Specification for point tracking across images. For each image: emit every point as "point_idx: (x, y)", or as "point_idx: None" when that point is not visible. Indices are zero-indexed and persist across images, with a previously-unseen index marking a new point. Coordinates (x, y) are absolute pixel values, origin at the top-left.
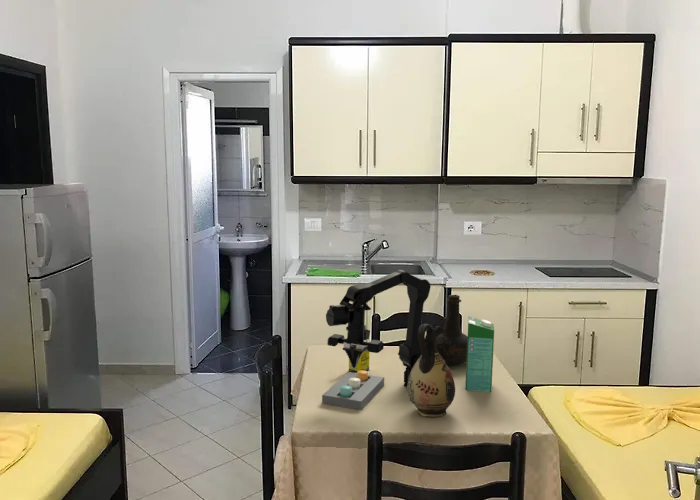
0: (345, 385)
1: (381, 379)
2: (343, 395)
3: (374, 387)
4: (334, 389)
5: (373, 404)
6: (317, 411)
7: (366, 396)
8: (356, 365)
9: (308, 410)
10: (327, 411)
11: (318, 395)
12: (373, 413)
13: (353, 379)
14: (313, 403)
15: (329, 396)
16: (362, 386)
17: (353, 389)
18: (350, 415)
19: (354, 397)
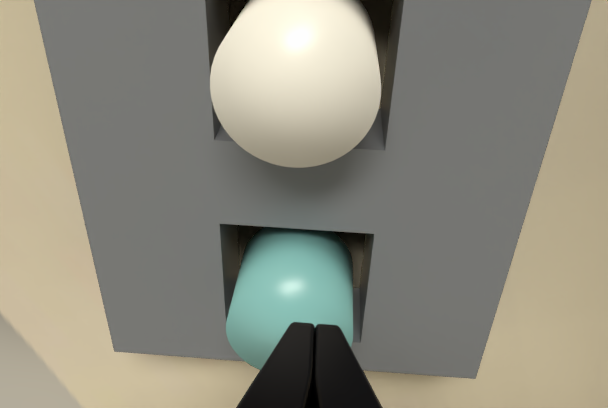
0: (259, 289)
1: None
2: None
3: (581, 28)
4: (142, 229)
5: (553, 206)
6: (180, 394)
7: (504, 274)
8: (348, 358)
9: (121, 395)
10: (238, 382)
11: (14, 175)
12: (565, 341)
13: (276, 88)
14: (82, 310)
15: (183, 355)
16: (409, 50)
17: (328, 172)
18: (405, 394)
19: (397, 329)
